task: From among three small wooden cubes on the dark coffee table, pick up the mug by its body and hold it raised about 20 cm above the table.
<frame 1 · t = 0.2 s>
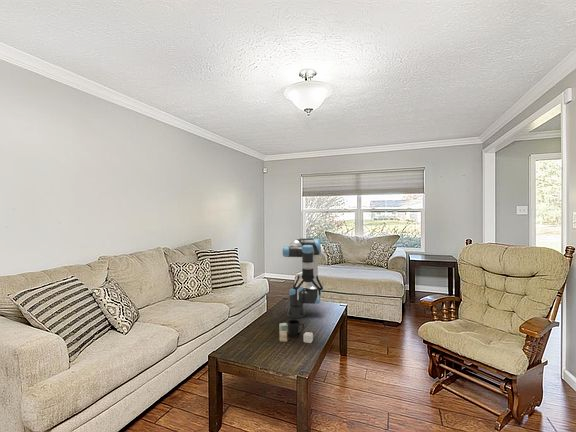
hand: (308, 299, 201), 28 cm above the table, fingers open, 13 cm apart
maple cube: (283, 340, 203), on the table
mug: (296, 335, 210), on the table
cream cube: (308, 341, 201), on the table
sage cube: (283, 331, 218), on the table
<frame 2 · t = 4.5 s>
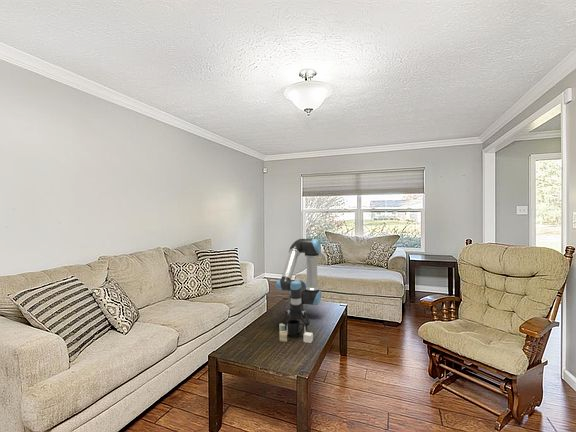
hand: (296, 334, 210), 1 cm above the table, fingers closed on mug, 12 cm apart
mug: (296, 335, 210), on the table, touching gripper
everything else where it was.
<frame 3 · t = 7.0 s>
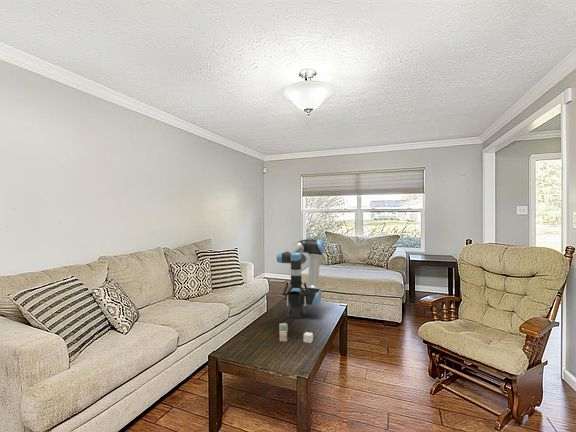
hand: (296, 305, 212), 21 cm above the table, fingers closed on mug, 12 cm apart
mug: (296, 306, 212), point 20 cm above the table, touching gripper
everything else where it was.
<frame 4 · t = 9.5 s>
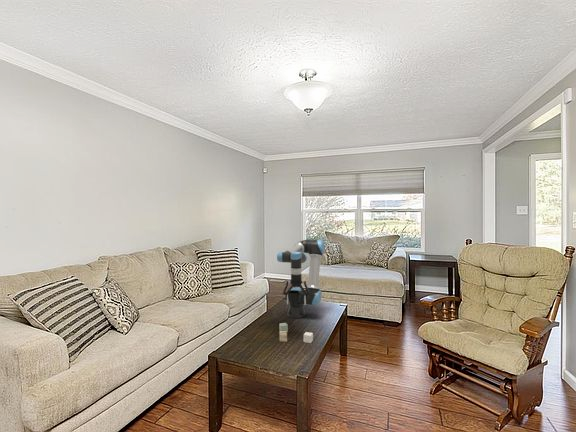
hand: (296, 304, 212), 21 cm above the table, fingers closed on mug, 12 cm apart
mug: (296, 305, 212), point 20 cm above the table, touching gripper
everything else where it was.
at the end: the gripper is holding mug; mug point 20.2 cm above the table; sage cube moved 0.1 cm from its start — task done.
